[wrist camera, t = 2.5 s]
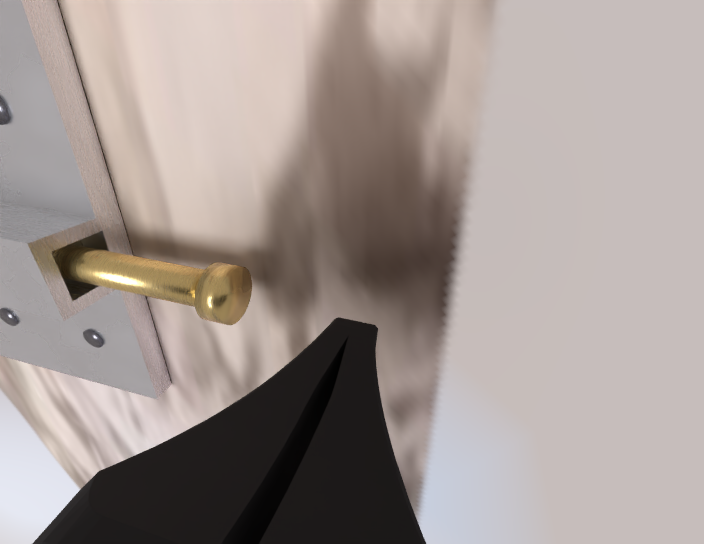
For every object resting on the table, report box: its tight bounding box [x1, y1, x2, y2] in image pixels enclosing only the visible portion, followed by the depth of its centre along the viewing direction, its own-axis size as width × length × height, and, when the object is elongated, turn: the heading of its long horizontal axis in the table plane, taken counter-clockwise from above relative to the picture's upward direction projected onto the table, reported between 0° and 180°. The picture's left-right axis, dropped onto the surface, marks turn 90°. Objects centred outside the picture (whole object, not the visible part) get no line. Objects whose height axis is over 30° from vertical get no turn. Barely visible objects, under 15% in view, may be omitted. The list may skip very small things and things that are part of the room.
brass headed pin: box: [51, 244, 252, 325], centre depth 14 cm, size 13×2×2 cm, turn 86°
